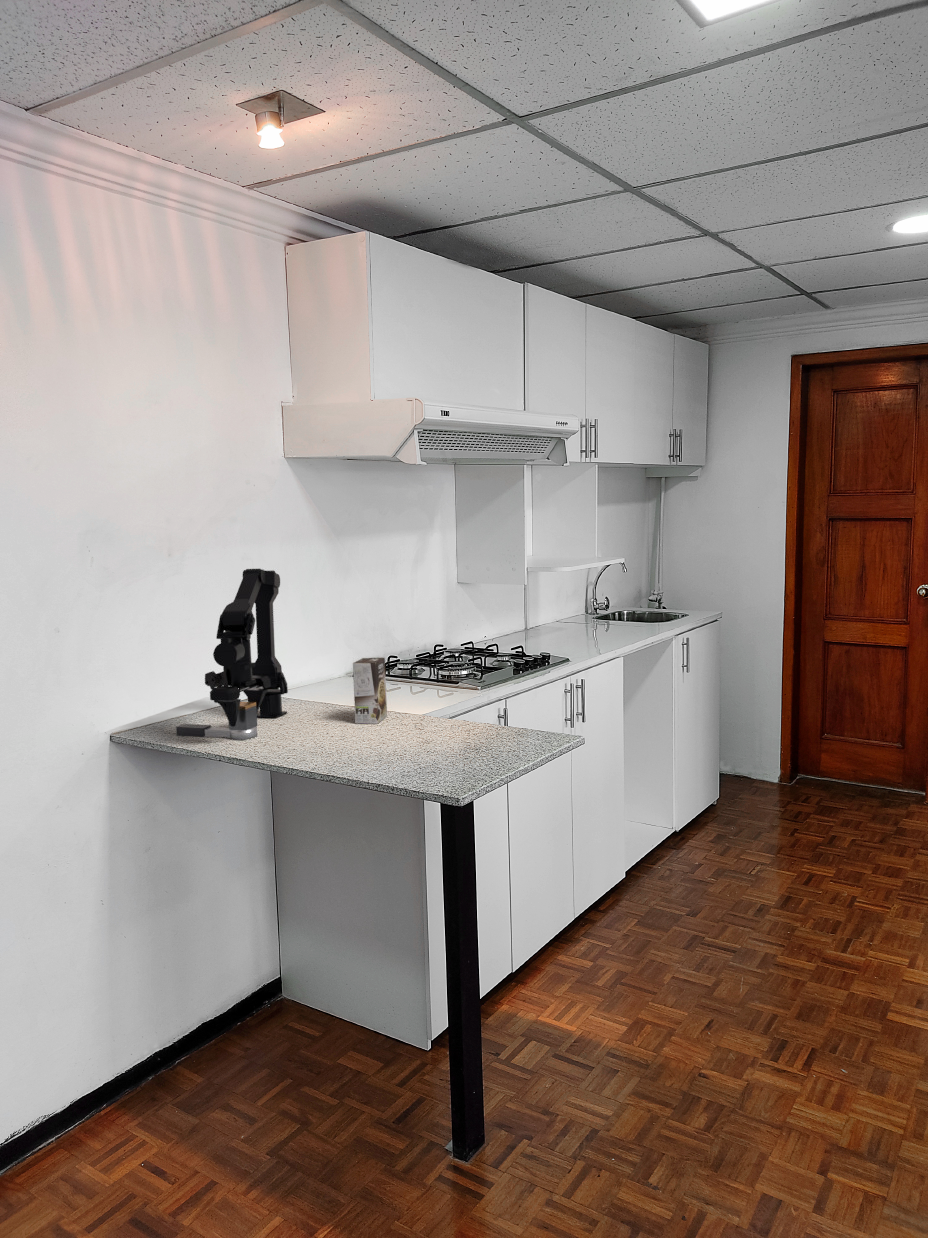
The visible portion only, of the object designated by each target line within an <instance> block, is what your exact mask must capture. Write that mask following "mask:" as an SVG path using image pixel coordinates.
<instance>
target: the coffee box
mask: <svg viewBox="0 0 928 1238" xmlns="http://www.w3.org/2000/svg"><path fill="white" fill-rule="evenodd" d="M352 671H353V672H352V673H353V674H352V676H353V696H354V697H353V699H354V722H355V724H369V725H370V724H371V725H378V724H379V723H381V722H382V721H383V720H384V719H386V718H387V717H388V703H387V700H388V699H387V682H386V681H387V680H386V679H387V677H386V658H385V657H362V658H361V659H358V660H356V661H355V662H353V663H352Z"/></svg>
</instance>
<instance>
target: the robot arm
mask: <svg viewBox="0 0 928 1238" xmlns="http://www.w3.org/2000/svg"><path fill="white" fill-rule="evenodd" d="M280 587H281V576H280V574H278V573H277V572H276V571H275V570H273V569H272V570H266V569H261V568H246V569H244V570H243V571H242V579H241V582H240V584H239V587H238V589H237V592H236V594H235V597H234V599H233V601H231V602H230V603H229V604H227V605H226V606H225V607H224V609H223V611H222V613H221V614H220V615H219V620H218V625H217V631H216V639H217V640H220V643H219V644H217V645H216V646H215V648H214V650H213V653H212V656H213V659H214V661H215V663H216V664H218V665H219V666H221V667H223V671H221V672H218V673H216V672H215V671H214V670H212V671H209V672H207V673H205V674H204V685H206V686H207V687H209V688H210V691H209V700H210V701H213V702H214V704H218V705H219V706H221V708H222V709H223V711H224V713H225V716H226V718H227V720H228V721H229V723H230V726H232V727H234V726H235V725H236V721H237V716H238V711H239V706H240V702H242V699H241V698H240V696H241V693H243V694H244V695H246V697H247V702H256V710H257V718H267V719H277V718H279V717H281V716H285V715H286V714H288V711H287V710H286V711H285V710H283V706H282V705H283V703H282V695H283V696H284V695H285V694H288V692H289V689H288V688H289V687H288V682H287V680H286V677H285V674H284V672H282V665H281V663H280V662H279V661H278V659H277V657H276V650H275V626H274V625H275V621H274V601H275V600H276V598H277V596H278V595H279V591H280V590H279V588H280ZM254 605H255V615H254V614H253V613H254V612H253V608H254ZM255 624H256V649H257V651H256V652H257V653H256V654H257V658H256V660H255V662H252V649H251V635H253V632H254V628H255ZM258 712H259V713H258ZM228 721H227V722H228ZM229 723H228V724H229Z"/></svg>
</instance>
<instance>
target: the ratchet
mask: <svg viewBox="0 0 928 1238" xmlns="http://www.w3.org/2000/svg"><path fill="white" fill-rule="evenodd" d="M175 730H176V731H175V732H176V736H178V737H179V736H180V737H181V736H183V737H184V736H185V737H197V738H198V737H200V738H204V736H205V737H207V738H222V737H225V738H226V737H227V739H231V740H232V739H233V741H246V740H245V739H249V740H252V739H251V738H253V739H255V737H256V738H257V737H258V725H257V726H256V727H253V728H251V729H249V730H229V727H222V726H221V727H217V726H212V725H211V724H198V723H197V724H195V723H194V724H193V723H183V724H180V725H177V726H176V727H175Z"/></svg>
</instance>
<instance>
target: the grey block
mask: <svg viewBox="0 0 928 1238" xmlns="http://www.w3.org/2000/svg"><path fill="white" fill-rule="evenodd" d="M257 714H258V712H257V710H256V702H248V701H240V706H239V711H238V716H237V721H236V725H235V726H234V727H232V726H230V723H229V721H227V722H228V723H227V724H228V728H229V730H249V729H251V728H253V727H256V726H257V727H258V717H257Z"/></svg>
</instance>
